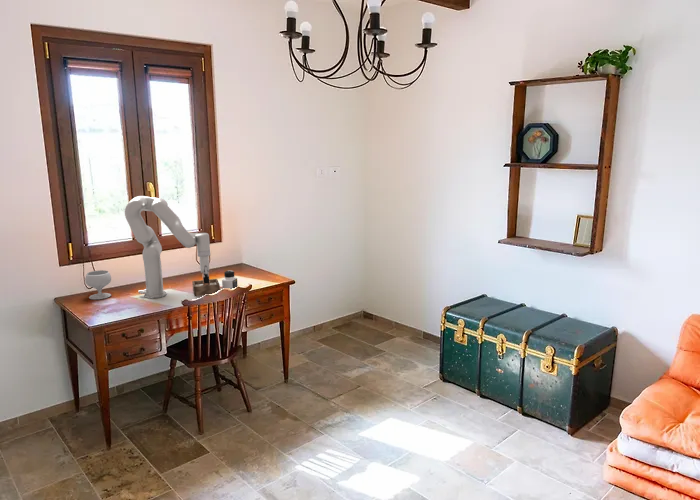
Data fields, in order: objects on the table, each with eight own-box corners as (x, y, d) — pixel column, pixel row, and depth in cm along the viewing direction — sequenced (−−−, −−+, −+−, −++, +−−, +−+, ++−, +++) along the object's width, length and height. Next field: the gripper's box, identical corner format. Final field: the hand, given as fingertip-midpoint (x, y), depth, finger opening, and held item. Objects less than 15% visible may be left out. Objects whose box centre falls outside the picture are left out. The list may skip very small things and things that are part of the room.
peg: (203, 289, 309) (202, 270, 306) (203, 287, 313) (201, 268, 310) (210, 288, 310) (208, 269, 308) (209, 286, 314) (208, 267, 312)
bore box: (194, 296, 303) (193, 287, 302) (192, 290, 316) (192, 281, 315) (220, 293, 308) (219, 284, 307) (217, 287, 321) (216, 278, 320)
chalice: (93, 302, 293) (90, 277, 290) (83, 297, 302) (80, 273, 299) (117, 296, 304) (114, 272, 300) (106, 292, 313) (104, 268, 309)
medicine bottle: (233, 291, 313) (232, 272, 310) (222, 291, 314) (221, 272, 312) (237, 288, 320) (236, 270, 317) (227, 287, 321) (226, 269, 319)
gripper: (196, 251, 313) (198, 279, 317) (198, 256, 298) (201, 286, 302) (208, 250, 316) (211, 278, 320) (211, 255, 301) (213, 285, 304)
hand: (206, 281), depth 311 cm, fingers closed on peg, 4 cm apart
